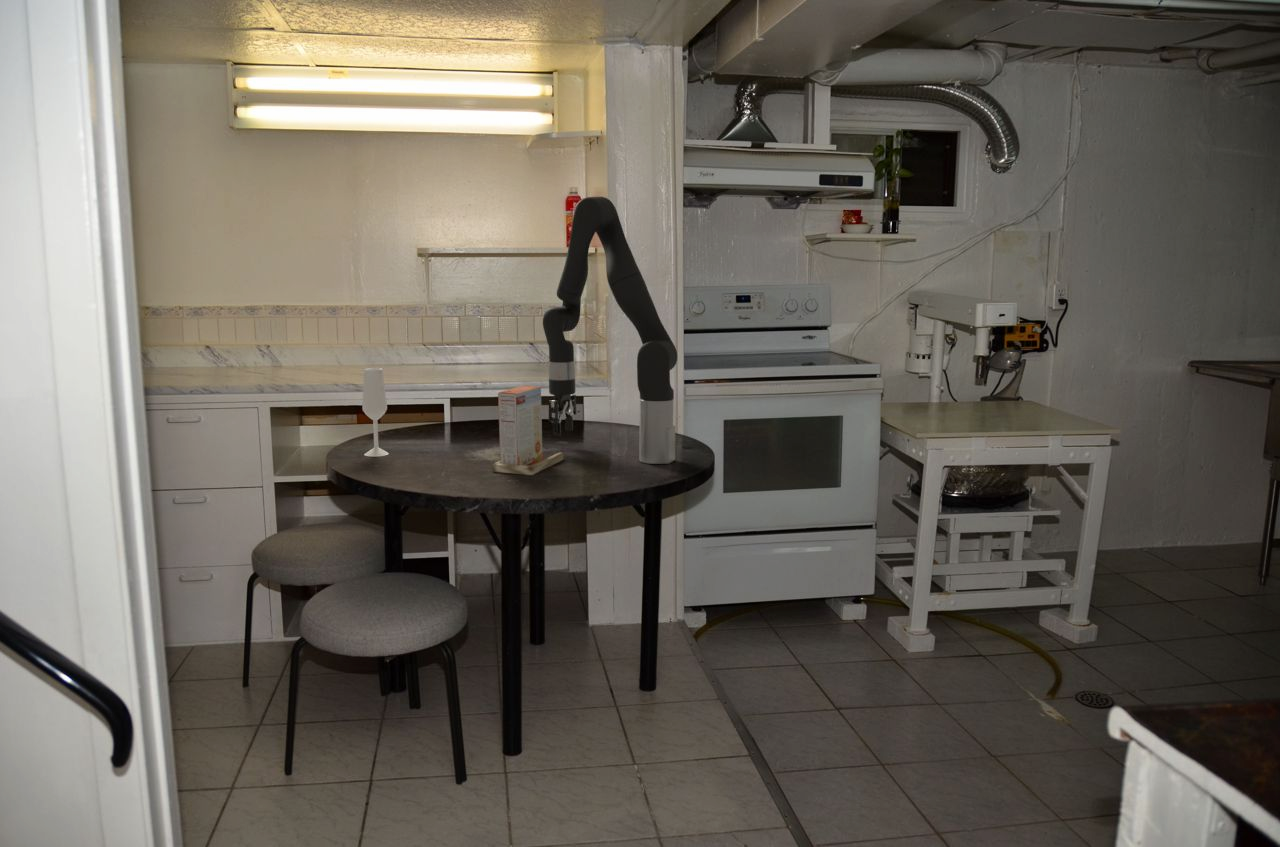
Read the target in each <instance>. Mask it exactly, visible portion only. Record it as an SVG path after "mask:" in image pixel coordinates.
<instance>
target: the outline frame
mask: <svg viewBox="0 0 1280 847" xmlns="http://www.w3.org/2000/svg"><path fill="white" fill-rule="evenodd" d="M563 460H564V452H557V453H555V454H552V455H550V456H548V457H547V458H544V459H542V461H540V462H538V463H535V464H533V465H531V466H522V465H511V464H500V460H498V461H496V462H494V463H492V464H491V472H493V473H506V474H517V475H526V476H527V475H528V476H534V475H536V474H537V473H539V472H541V471H543V470H545V469H548V468H549V467H552V466H553V465H555V464H557V463H560V462H561V461H563Z"/></svg>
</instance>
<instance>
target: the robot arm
mask: <svg viewBox="0 0 1280 847" xmlns="http://www.w3.org/2000/svg"><path fill="white" fill-rule="evenodd" d="M572 215H573V216H572V221H571V229H570V235H569V242H568V247H567V254H566V259H565V262H564V263H565V264H564V266H563V270H562V273H561V277H560V279H559V283H558V285H557V288H556V296H557V299H559V300H560V301H562V305H561V306H558V307H550V308H548V309H546V311H545V312H544V314H543V316H542V327H543V331H544V335H545V338H546V343H547V345H548V360H549V362H548V392H549V393H548V394H550V395H553V400H549V401H548V421H549V422H551V424H552V436H555V437H560V436H561V435H562V423H561V422H562V419H563V417H564V430H565V432H572V431H573V430H574V420H573V418H575V416H576V415H577V398H576V397H577V396H576V394H575V393H576V367H575V351H574V350H575V349H574V343H573V342H572V341H570V340H567V339H566V338H565V334H564V332H566V333H567V332H571V331H573V330H574V329H575V328H576V327H577V326H578V325H579V324H578V323H579V321H580V317H581V304H582V303H581V302H582V298H581V297H582V295H583V293H584V289H585V286H586V284H587V279H588V276H589V275H588V273H589V250H590V245H591V242H592V240H593V238H594V236H595V234H596V235H597V237H598V239H599V241H600V243H601V245H602V248H603V251H604V255H605V267H606V268H605V269H606V279H607V283H608V286H609V289H610V290H611V292H612V295H613V297H614V299H615V301H616V303H617V305H618V307H619V308H620V310H621V311H622V312H623V314H624V315H625V316H626V317H627V319H628V320H629V321H630V322H631V323H632V325H633V326H634V328H635V330H636V331H637V334H638V336H639V338H640V340H641V343H642V345H641V346H640V348H639V349H638V353H637V359H636V377H637V378H636V380H637V389H638V391H639V433H638V434H639V436H638V437H639V439H638V440H639V441H638V442H639V446H638V447H639V449H638V450H639V451H638V455H639V456H638V458H639V459H638V460H639V462H640V463H644V464H651V465H652V464H653V465H654V464H655V465H657V464H659V465H660V464H661V465H663V464H670V463H672V462H673V461H675V460H676V426H675V425H674V406H675V405H674V403H675V402H674V399H675V398H674V397H675V395H674V393H675V391H674V388H673V387H672V386H671V373H670V372H671V370H673V369H674V368H675V366H676V364H677V362H678V350H677V348H676V346H675V344H674V342H673V341H672V339H671V337H670V335H669V334H668V332H667V330H666V328H665V327H664V325H663V322H662V321H661V318H660V316H659V314H658V312H657V309H656V306H655V303H654V300H653V299H652V296H651V294H650V292H649V290H648V287H647V284H646V281H645V280H644V277H643V275H642V273H641V271H640V269H639V266H638V264H637V262H636V260H635V257H634V255H633V253H632V250H631V248H630V246H629V244H628V240H627V239H626V236H625V233H624V230H623V225H622V223H621V220H620V217H619V213H618V211H617V209H616V206H615V205H614V202H612V201H611V200H610V199H608V198H607V197H604V196H589V197H588V196H587V197H583V198H581V199H580V200H579V201H578V202H577V204H576V205H575V208H574V210H573V214H572Z"/></svg>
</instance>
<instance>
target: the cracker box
mask: <svg viewBox="0 0 1280 847" xmlns="http://www.w3.org/2000/svg"><path fill="white" fill-rule="evenodd" d="M497 397H498V398H497V399H498V400H497V401H498V402H497V403H498V425H499V427H498V429H499V431H498V432H499V455H500V456H499V461H500V464H511V465H522V466H531V465H533V464H535V463H538V462H540V461H542V460H543V428H542V427H543V425H542V424H543V422H542V421H543V420H542V387H541V386H540V385H539V386H538V385H537V386H536V385H535V386H534V385H521V386H518V387H513V388H511V389H507V390H506V389H505V390H503V391H500V392H498V393H497Z"/></svg>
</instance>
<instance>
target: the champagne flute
mask: <svg viewBox="0 0 1280 847" xmlns="http://www.w3.org/2000/svg"><path fill="white" fill-rule="evenodd" d="M363 371H364V374H363V391H362V408H361V409H362V412H364V413H363V414H365V415H366V416H367V417H368V418H369V419H370V420H372V423H373V425H372V426H373V448H372V449H370V450H368V451H367V452H365V453H364V456H366V457H384V456H388V455H389V452H387V451H386V450H384V449H382V448H380V447H379V427H378V426H379V425H378V424H379V423H378V420H380V419H381V418H382V417H383V416H384V415H385V413H387V410H388V404H387V396H386V388H385V380H384V373H383V368H380V367H369V368H364V370H363Z"/></svg>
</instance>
